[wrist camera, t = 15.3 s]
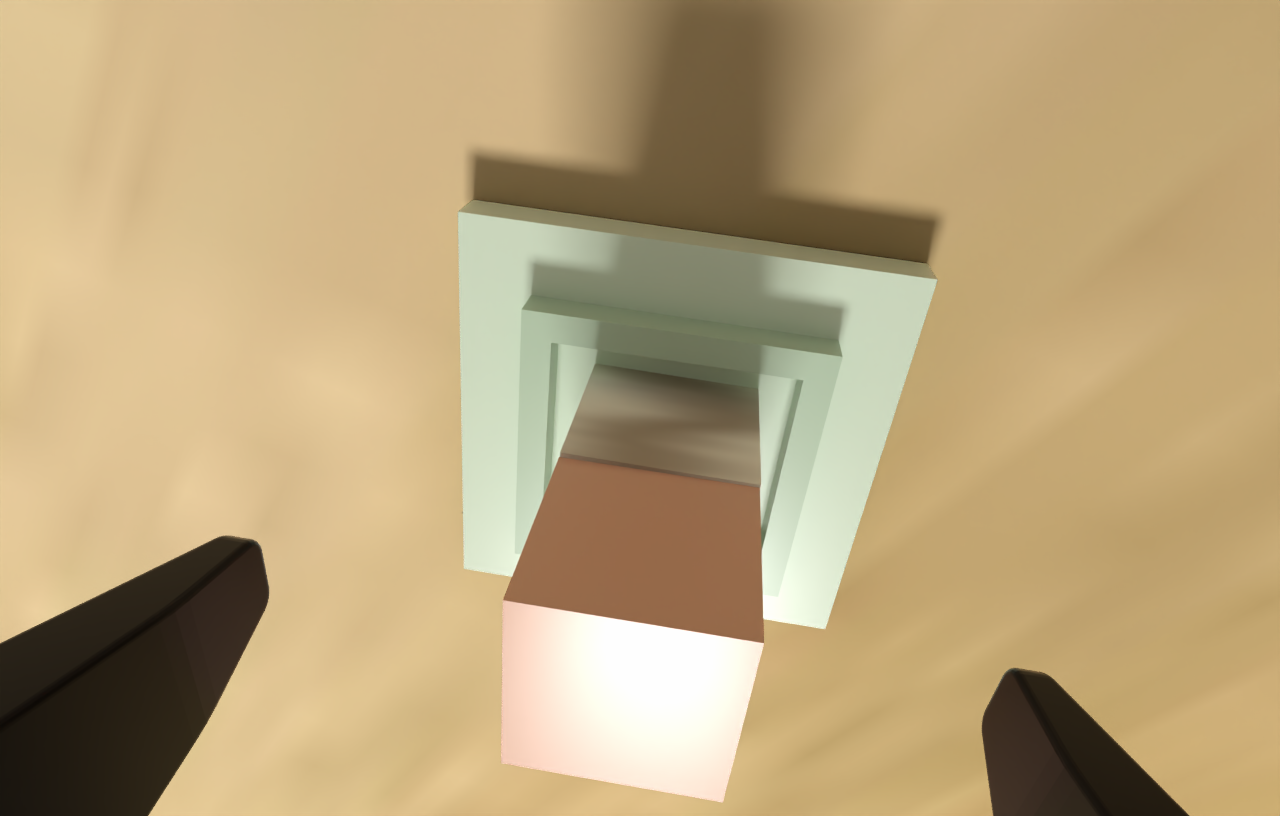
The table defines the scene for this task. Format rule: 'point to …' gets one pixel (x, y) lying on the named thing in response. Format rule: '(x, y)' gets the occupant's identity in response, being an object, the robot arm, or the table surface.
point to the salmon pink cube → (634, 629)
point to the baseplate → (682, 369)
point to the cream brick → (668, 425)
